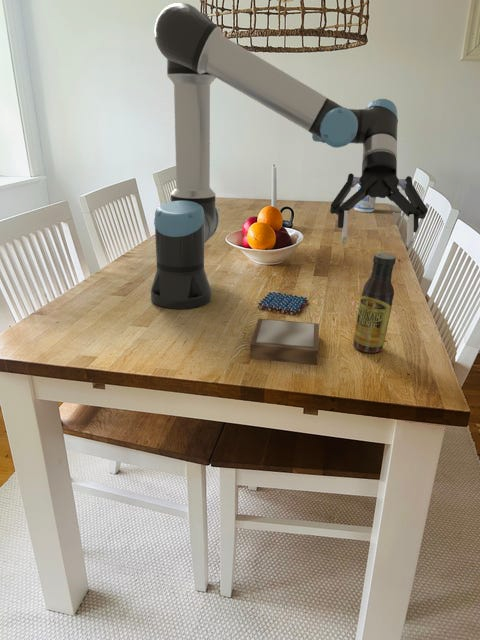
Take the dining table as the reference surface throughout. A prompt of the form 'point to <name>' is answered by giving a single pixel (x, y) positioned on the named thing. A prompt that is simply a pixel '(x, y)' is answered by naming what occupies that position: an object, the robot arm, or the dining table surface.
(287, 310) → the woven mat
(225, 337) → the dining table surface
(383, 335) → the sauce bottle
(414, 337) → the dining table surface
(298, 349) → the walnut plinth
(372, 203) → the supplement tub
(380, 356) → the dining table surface
